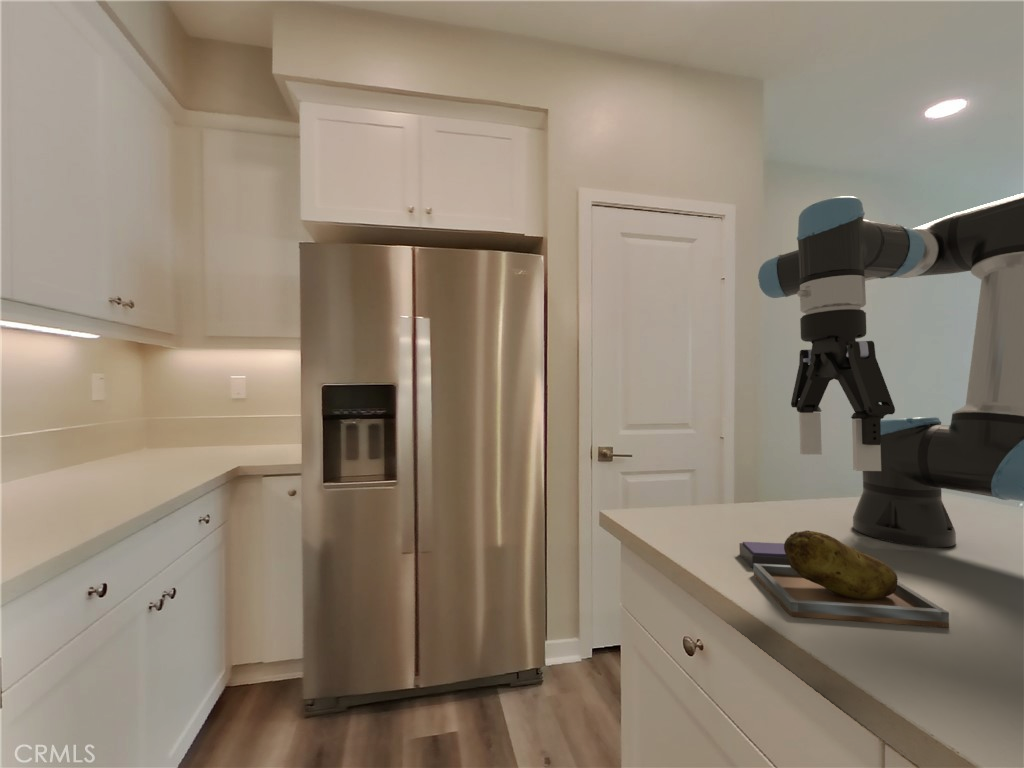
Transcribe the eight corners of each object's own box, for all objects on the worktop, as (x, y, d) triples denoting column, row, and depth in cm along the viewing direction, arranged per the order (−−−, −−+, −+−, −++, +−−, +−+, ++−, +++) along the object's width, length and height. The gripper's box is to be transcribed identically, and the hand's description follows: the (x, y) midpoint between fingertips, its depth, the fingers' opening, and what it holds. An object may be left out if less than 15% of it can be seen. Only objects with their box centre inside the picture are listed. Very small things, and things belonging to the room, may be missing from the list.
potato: (906, 618, 54) (904, 553, 54) (783, 592, 61) (782, 535, 61) (895, 592, 60) (894, 535, 61) (786, 571, 68) (785, 520, 68)
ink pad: (789, 556, 75) (788, 542, 75) (806, 571, 69) (806, 556, 69) (739, 554, 77) (739, 540, 77) (752, 568, 71) (752, 553, 71)
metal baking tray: (879, 582, 65) (879, 570, 65) (949, 627, 53) (948, 612, 53) (753, 574, 68) (753, 563, 68) (791, 616, 56) (790, 602, 56)
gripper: (766, 325, 75) (769, 449, 74) (857, 294, 50) (862, 479, 50) (814, 323, 73) (817, 449, 73) (931, 291, 49) (937, 480, 48)
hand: (835, 461), depth 61 cm, fingers open, 13 cm apart
